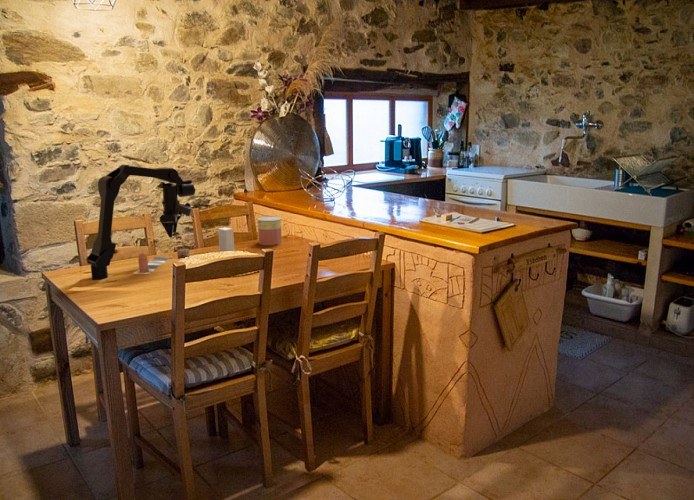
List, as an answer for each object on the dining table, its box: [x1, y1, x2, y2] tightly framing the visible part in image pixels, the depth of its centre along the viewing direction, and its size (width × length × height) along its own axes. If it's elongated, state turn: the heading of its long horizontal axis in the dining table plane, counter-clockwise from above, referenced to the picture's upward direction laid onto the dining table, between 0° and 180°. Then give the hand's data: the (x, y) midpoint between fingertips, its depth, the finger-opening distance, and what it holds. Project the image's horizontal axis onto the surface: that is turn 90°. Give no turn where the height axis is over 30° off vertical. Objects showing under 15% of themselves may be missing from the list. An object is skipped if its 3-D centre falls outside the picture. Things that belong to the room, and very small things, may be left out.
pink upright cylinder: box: [137, 252, 149, 273], centre depth 227 cm, size 3×3×7 cm
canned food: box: [257, 216, 283, 246], centre depth 280 cm, size 11×11×12 cm
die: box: [177, 248, 190, 260], centre depth 252 cm, size 4×4×4 cm
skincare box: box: [217, 227, 235, 253], centre depth 257 cm, size 6×4×12 cm
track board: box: [132, 256, 173, 275], centre depth 238 cm, size 27×8×1 cm, turn 179°
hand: (172, 235), depth 240 cm, fingers open, 9 cm apart
